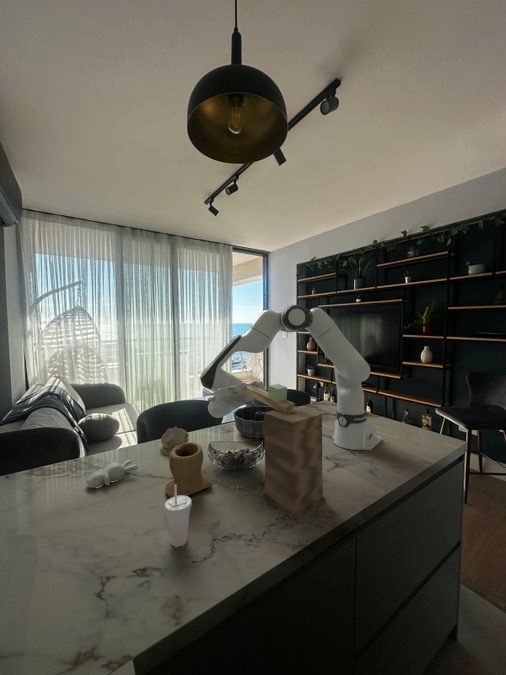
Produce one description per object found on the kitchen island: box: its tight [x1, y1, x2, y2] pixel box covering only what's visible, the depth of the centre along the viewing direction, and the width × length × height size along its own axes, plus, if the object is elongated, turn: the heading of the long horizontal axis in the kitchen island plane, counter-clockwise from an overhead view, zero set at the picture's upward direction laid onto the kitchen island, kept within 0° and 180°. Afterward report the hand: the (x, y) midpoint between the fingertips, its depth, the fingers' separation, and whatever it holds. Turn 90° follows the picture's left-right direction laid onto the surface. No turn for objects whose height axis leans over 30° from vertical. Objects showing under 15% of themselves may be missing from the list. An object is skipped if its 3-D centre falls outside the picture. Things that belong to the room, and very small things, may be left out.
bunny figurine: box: [86, 459, 138, 489], centre depth 101 cm, size 10×5×15 cm
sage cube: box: [268, 383, 288, 402], centre depth 92 cm, size 4×4×4 cm
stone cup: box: [164, 441, 213, 498], centre depth 94 cm, size 15×12×15 cm
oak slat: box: [243, 385, 296, 414], centre depth 96 cm, size 4×22×2 cm, turn 37°
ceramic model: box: [159, 426, 190, 456], centre depth 125 cm, size 14×11×10 cm
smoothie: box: [164, 485, 193, 548], centre depth 71 cm, size 6×6×14 cm
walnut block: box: [262, 406, 326, 520], centre depth 88 cm, size 13×13×26 cm
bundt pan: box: [232, 405, 277, 440], centre depth 144 cm, size 26×26×10 cm
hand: (250, 384), depth 103 cm, fingers closed on oak slat, 3 cm apart
